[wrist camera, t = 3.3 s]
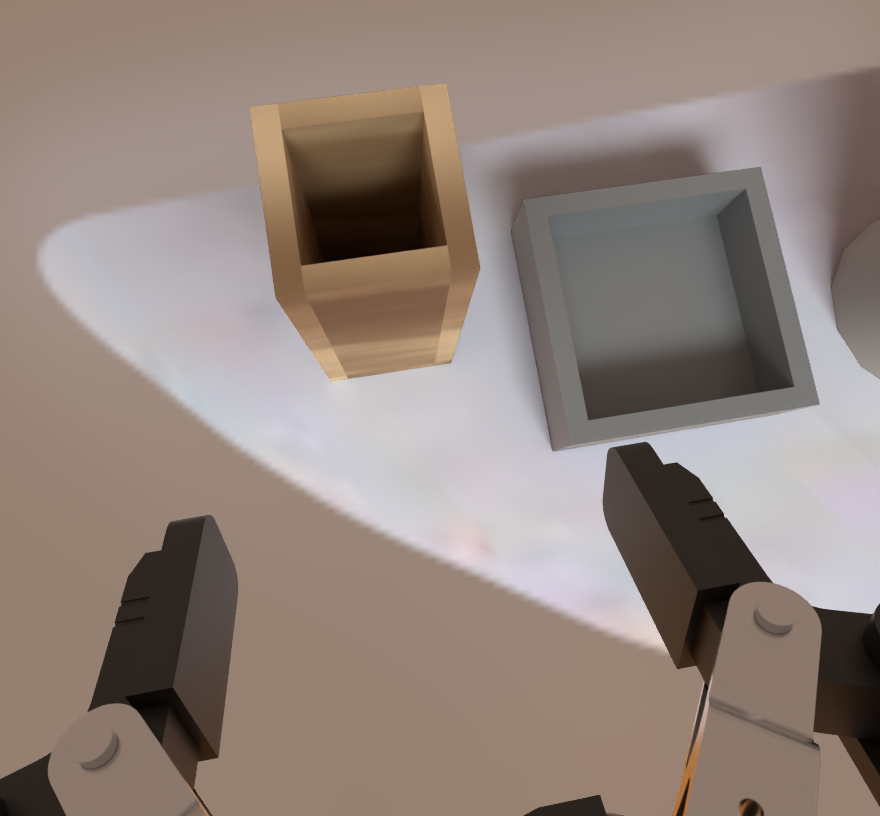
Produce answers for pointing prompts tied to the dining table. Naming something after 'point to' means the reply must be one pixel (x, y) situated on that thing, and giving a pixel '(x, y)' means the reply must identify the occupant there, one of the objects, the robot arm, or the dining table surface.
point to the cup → (860, 298)
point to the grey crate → (659, 308)
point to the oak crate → (368, 226)
